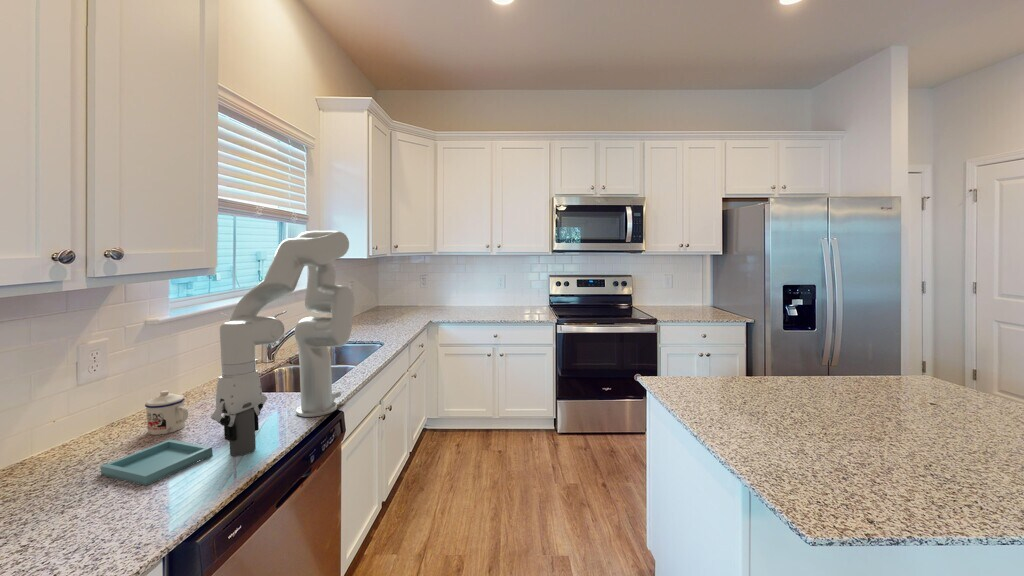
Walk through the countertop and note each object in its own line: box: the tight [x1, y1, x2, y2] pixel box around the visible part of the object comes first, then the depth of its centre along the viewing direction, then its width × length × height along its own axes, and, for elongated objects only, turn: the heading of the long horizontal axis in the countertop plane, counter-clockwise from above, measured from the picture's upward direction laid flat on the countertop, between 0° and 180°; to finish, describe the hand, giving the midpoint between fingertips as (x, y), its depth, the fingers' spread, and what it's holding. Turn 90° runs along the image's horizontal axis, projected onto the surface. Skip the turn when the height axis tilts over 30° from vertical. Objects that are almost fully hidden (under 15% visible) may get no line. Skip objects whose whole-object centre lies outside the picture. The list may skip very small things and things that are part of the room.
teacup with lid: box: [144, 390, 189, 436], centre depth 126 cm, size 12×9×12 cm
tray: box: [100, 438, 213, 486], centre depth 105 cm, size 15×15×2 cm
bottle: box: [228, 402, 257, 457], centre depth 112 cm, size 6×6×15 cm
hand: (242, 434), depth 112 cm, fingers open, 5 cm apart
